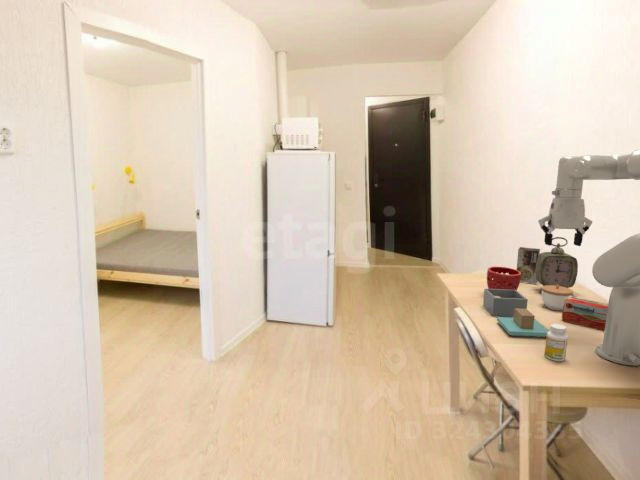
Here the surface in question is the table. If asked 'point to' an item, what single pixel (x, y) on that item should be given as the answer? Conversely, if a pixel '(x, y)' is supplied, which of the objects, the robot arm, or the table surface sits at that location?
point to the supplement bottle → (556, 343)
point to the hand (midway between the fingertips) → (562, 245)
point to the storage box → (503, 302)
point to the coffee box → (527, 264)
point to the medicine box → (585, 312)
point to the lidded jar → (555, 296)
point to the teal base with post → (522, 324)
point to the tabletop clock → (556, 267)
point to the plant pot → (503, 278)
